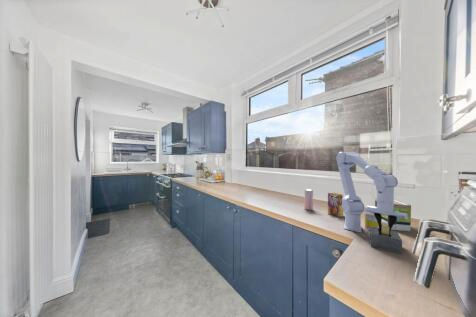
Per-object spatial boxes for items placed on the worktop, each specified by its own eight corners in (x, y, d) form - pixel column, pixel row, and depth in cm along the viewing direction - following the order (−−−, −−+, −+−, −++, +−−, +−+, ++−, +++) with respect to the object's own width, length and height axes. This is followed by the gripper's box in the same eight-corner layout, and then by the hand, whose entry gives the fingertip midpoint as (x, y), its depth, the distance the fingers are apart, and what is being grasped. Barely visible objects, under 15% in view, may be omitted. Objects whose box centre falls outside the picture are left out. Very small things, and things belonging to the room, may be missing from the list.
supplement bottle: (369, 226, 97) (369, 204, 97) (382, 231, 91) (383, 207, 91) (361, 227, 95) (362, 205, 95) (374, 233, 89) (375, 209, 89)
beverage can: (305, 207, 132) (306, 188, 132) (313, 209, 129) (314, 189, 128) (303, 209, 128) (303, 189, 128) (311, 210, 124) (311, 191, 124)
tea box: (411, 231, 91) (412, 205, 90) (390, 230, 93) (390, 203, 92) (391, 221, 105) (392, 198, 105) (373, 220, 107) (374, 197, 107)
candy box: (343, 215, 115) (343, 193, 115) (341, 217, 112) (342, 194, 111) (329, 212, 121) (329, 191, 121) (327, 213, 118) (327, 192, 118)
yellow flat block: (380, 234, 79) (380, 221, 79) (387, 235, 77) (387, 222, 77) (381, 238, 75) (381, 225, 75) (389, 240, 73) (389, 226, 73)
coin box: (369, 238, 83) (369, 226, 83) (396, 244, 78) (396, 231, 77) (371, 246, 75) (371, 233, 75) (401, 254, 69) (402, 240, 69)
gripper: (365, 200, 77) (365, 229, 77) (409, 206, 69) (409, 238, 69) (364, 197, 83) (364, 224, 83) (405, 202, 74) (404, 232, 75)
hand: (384, 230), depth 76 cm, fingers closed on yellow flat block, 2 cm apart
